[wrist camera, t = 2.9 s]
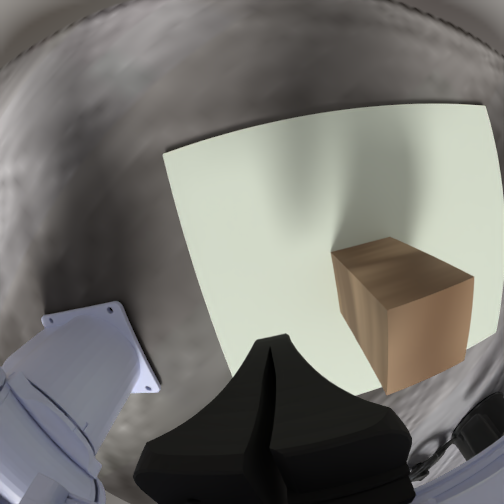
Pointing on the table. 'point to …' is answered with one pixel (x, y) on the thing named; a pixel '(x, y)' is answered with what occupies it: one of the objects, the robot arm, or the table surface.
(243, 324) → the sage mat
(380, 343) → the walnut block
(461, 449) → the milk frother
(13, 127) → the table surface
